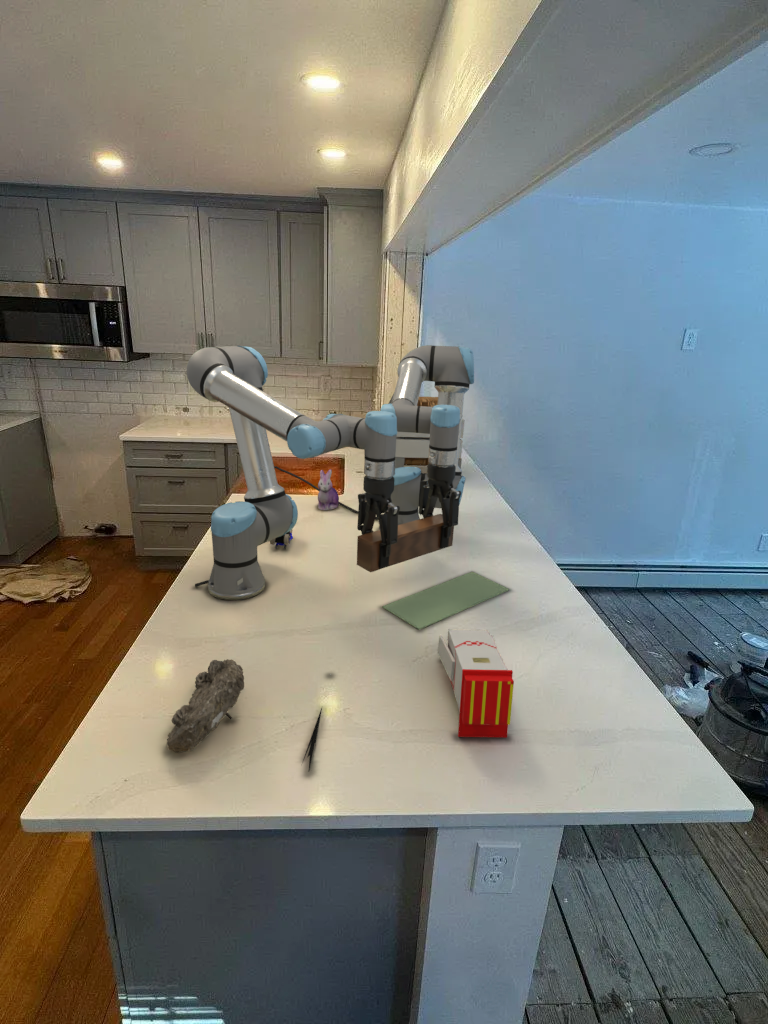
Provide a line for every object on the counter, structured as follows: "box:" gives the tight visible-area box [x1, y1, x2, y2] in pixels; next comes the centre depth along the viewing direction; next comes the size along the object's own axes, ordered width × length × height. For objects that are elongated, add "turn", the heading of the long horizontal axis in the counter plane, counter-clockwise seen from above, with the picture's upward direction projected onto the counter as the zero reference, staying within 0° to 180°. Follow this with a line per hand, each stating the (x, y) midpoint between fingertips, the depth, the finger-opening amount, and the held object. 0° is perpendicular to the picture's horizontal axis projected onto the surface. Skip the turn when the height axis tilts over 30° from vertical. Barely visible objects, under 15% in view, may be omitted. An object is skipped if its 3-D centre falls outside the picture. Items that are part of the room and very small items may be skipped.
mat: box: [382, 571, 510, 631], centre depth 157 cm, size 14×36×1 cm, turn 131°
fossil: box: [166, 658, 245, 754], centre depth 106 cm, size 22×10×15 cm
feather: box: [301, 673, 332, 771], centre depth 108 cm, size 2×28×2 cm
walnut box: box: [356, 513, 455, 573], centre depth 152 cm, size 30×6×8 cm, turn 131°
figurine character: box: [269, 529, 294, 550], centre depth 186 cm, size 7×8×15 cm
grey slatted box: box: [387, 393, 465, 470], centre depth 268 cm, size 34×33×41 cm
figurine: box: [317, 468, 340, 511], centre depth 220 cm, size 9×10×15 cm
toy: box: [437, 628, 515, 738], centre depth 117 cm, size 12×13×30 cm
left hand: (375, 562), depth 146 cm, fingers closed on walnut box, 6 cm apart
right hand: (435, 543), depth 160 cm, fingers closed on walnut box, 6 cm apart
